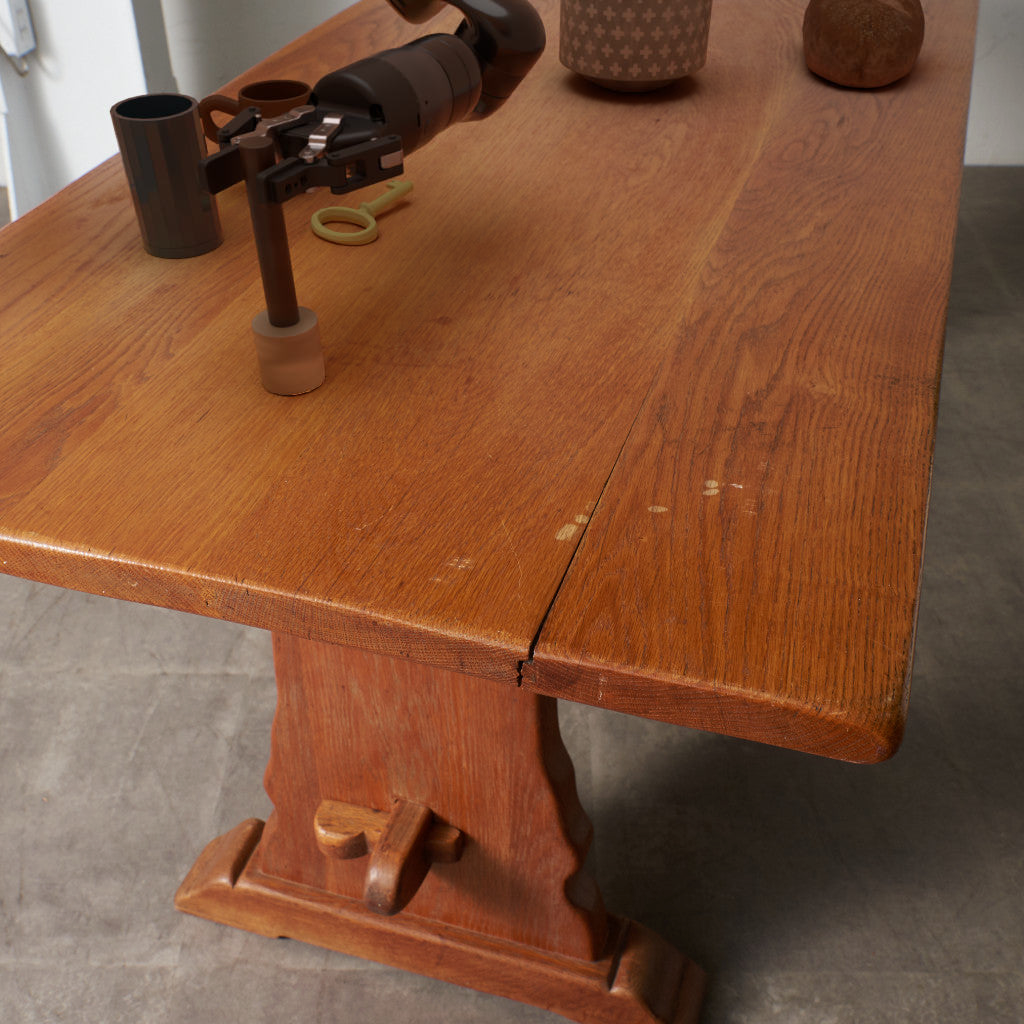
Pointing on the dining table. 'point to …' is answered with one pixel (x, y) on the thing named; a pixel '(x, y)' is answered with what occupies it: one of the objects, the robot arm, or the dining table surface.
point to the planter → (634, 41)
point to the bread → (863, 40)
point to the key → (359, 216)
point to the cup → (167, 173)
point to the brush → (279, 292)
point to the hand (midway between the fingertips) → (233, 186)
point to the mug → (255, 102)
